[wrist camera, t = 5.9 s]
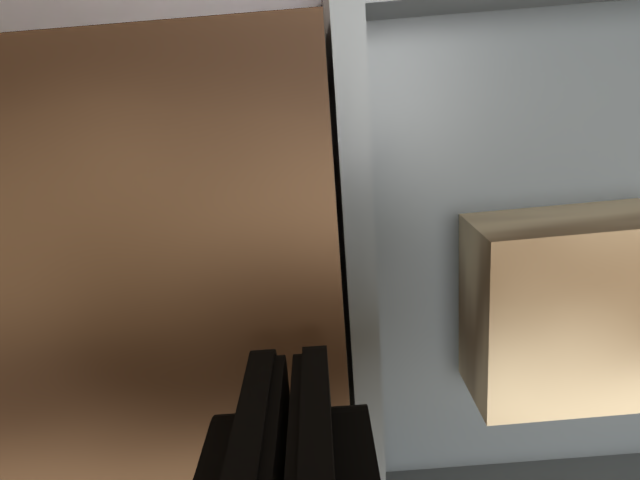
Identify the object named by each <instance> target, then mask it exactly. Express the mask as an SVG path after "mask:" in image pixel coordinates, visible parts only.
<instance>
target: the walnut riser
mask: <svg viewBox="0 0 640 480" xmlns="http://www.w3.org/2000/svg"><path fill="white" fill-rule="evenodd" d="M322 345H327V355H328V368H329V382H330V395H331V407H332V406H346V405H350V398H349V383H348V369H347V354H346V339H345V325H344V310H343V296H342V281H341V266H340V252H339V237H338V222H337V208H336V193H335V178H334V164H333V149H332V135H331V120H330V105H329V91H328V76H327V61H326V47H325V32H324V17H323V6H321V7H309V8H297V9H284V10H272V11H260V12H248V13H235V14H223V15H211V16H199V17H187V18H174V19H162V20H150V21H138V22H126V23H113V24H101V25H89V26H77V27H64V28H52V29H40V30H28V31H16V32H3V33H0V480H193V477H194V474H195V471H196V468H197V464H198V461H199V458H200V454H201V451H202V448H203V444H204V441H205V438H206V434H207V431H208V428H209V424H210V421H211V419H212V417H213V416H214V415H218V414H232V413H235V412H236V408H237V404H238V400H239V395H240V391H241V387H242V382H243V378H244V374H245V369H246V365H247V361H248V357H249V353H250V351H251V350H265V349H276V353H277V355H285V356H286V361H287V371H288V380H289V390H290V386H291V372H292V357H293V354H302V347H308V346H322Z"/></svg>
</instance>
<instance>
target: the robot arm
mask: <svg viewBox="0 0 640 480" xmlns="http://www.w3.org/2000/svg"><path fill="white" fill-rule="evenodd" d="M193 480H381V478H380V472H379V467H378V461H377V455H376V450H375V444H374V438H373V432H372V427H371V421H370V415H369V410H368V405H367V404H360V405H346V406H332V407H331V395H330V382H329V368H328V355H327V345H322V346H308V347H302V354H293V357H292V372H291V386H290V390H289V380H288V371H287V361H286V356H285V355H277V353H276V349H265V350H251V351H250V353H249V357H248V361H247V365H246V369H245V374H244V378H243V382H242V387H241V391H240V395H239V400H238V404H237V408H236V412H235V413H232V414H218V415H214V416H213V417H212V419H211V421H210V424H209V428H208V431H207V434H206V438H205V441H204V444H203V448H202V451H201V454H200V458H199V461H198V464H197V468H196V471H195V474H194V477H193Z"/></svg>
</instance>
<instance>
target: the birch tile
mask: <svg viewBox="0 0 640 480" xmlns="http://www.w3.org/2000/svg"><path fill="white" fill-rule="evenodd" d="M459 373H460V375H461V377H462V379H463V381H464V383H465V385H466V387H467V388H468V390H469V392H470V394H471V396H472V398H473V400H474V402H475V404H476V406H477V408H478V410H479V412H480V414H481V416H482V418H483V420H484V422H485V423H486V425H487V426H495V425H507V424H519V423H531V422H543V421H555V420H567V419H578V418H590V417H602V416H614V415H626V414H638V413H640V198H633V199H622V200H611V201H599V202H588V203H577V204H565V205H554V206H543V207H531V208H520V209H509V210H498V211H486V212H475V213H464V214H459Z"/></svg>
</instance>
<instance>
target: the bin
mask: <svg viewBox="0 0 640 480" xmlns="http://www.w3.org/2000/svg"><path fill="white" fill-rule="evenodd" d="M322 3H323V17H324V32H325V47H326V61H327V76H328V91H329V105H330V120H331V135H332V149H333V164H334V178H335V193H336V208H337V222H338V237H339V252H340V266H341V281H342V296H343V310H344V325H345V339H346V354H347V369H348V383H349V398H350V405H360V404H367V405H368V410H369V415H370V421H371V427H372V432H373V438H374V444H375V450H376V455H377V461H378V467H379V472H380V478H381V480H640V413H638V414H626V415H614V416H602V417H590V418H578V419H567V420H555V421H543V422H531V423H519V424H507V425H495V426H487V425H486V423H485V422H484V420H483V418H482V416H481V414H480V412H479V410H478V408H477V406H476V404H475V402H474V400H473V398H472V396H471V394H470V392H469V390H468V388H467V387H466V385H465V383H464V381H463V379H462V377H461V375H460V373H459V214H464V213H475V212H486V211H498V210H509V209H520V208H531V207H543V206H554V205H565V204H577V203H588V202H599V201H611V200H622V199H633V198H640V0H322Z"/></svg>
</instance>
